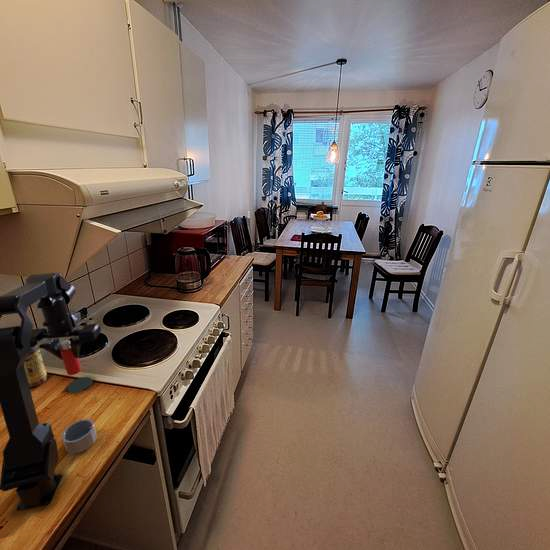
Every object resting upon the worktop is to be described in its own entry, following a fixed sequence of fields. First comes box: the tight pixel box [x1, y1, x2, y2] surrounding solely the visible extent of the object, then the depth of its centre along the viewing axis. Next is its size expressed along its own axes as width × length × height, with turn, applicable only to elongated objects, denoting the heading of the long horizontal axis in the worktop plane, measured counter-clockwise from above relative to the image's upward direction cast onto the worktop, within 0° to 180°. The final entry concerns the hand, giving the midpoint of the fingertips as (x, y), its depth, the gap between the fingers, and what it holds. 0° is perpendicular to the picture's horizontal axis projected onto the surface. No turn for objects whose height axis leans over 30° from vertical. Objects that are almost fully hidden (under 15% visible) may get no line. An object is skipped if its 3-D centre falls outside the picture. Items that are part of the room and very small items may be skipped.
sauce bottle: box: [24, 344, 48, 388], centre depth 93 cm, size 6×6×20 cm
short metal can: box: [61, 418, 98, 455], centre depth 76 cm, size 7×7×4 cm
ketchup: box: [59, 339, 83, 376], centre depth 88 cm, size 4×4×11 cm
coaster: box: [66, 376, 93, 394], centre depth 95 cm, size 7×7×1 cm
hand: (70, 358), depth 88 cm, fingers closed on ketchup, 4 cm apart
